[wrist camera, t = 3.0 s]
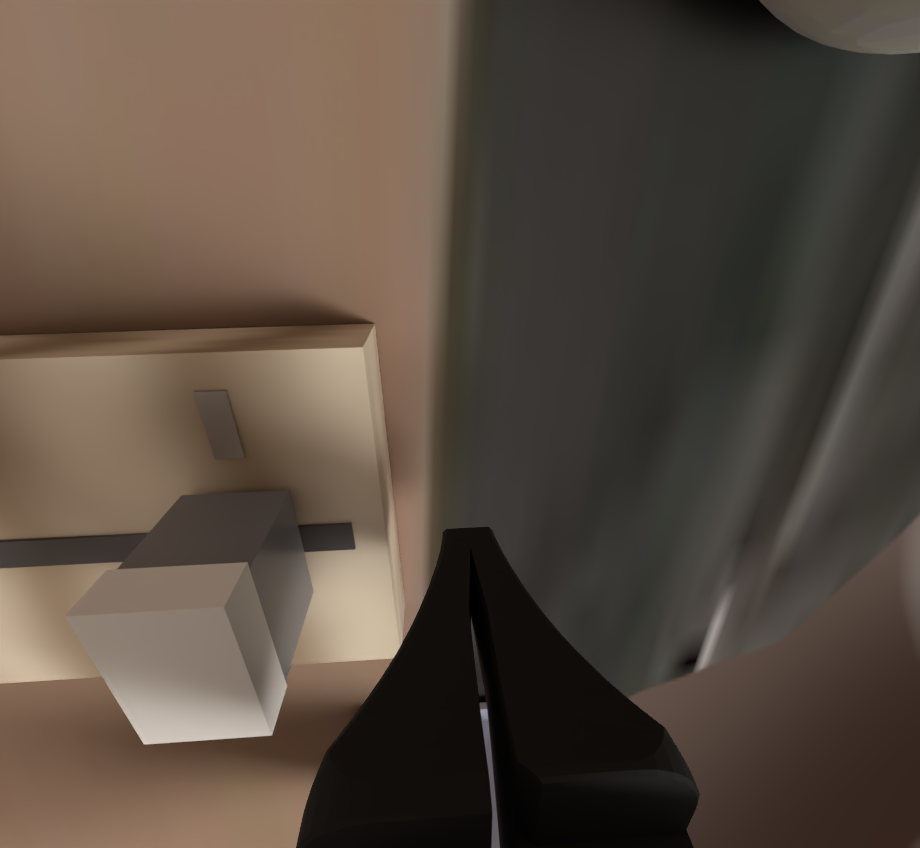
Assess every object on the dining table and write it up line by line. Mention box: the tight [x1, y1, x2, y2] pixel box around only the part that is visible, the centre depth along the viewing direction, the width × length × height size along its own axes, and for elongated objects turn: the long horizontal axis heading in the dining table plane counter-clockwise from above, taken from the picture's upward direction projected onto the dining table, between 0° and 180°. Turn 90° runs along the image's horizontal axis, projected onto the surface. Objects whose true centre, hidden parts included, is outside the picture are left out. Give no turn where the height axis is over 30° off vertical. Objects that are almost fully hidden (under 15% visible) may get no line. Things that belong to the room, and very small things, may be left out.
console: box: [0, 323, 405, 684], centre depth 14 cm, size 20×12×3 cm, turn 91°
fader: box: [65, 490, 314, 745], centre depth 11 cm, size 3×4×4 cm
